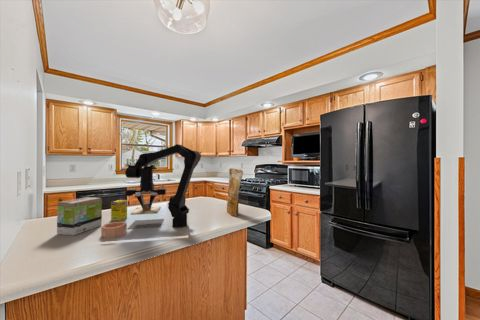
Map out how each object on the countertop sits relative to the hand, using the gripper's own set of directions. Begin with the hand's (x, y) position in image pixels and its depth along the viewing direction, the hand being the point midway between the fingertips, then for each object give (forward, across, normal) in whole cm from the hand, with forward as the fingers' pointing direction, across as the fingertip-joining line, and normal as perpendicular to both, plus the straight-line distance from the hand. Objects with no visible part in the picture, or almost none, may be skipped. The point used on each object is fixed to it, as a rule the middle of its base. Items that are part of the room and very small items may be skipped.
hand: (146, 208), depth 110 cm
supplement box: (+9, +17, -13) cm, 23 cm away
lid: (+1, 0, 0) cm, 1 cm away
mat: (+9, 0, 0) cm, 9 cm away
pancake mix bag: (+9, -48, -15) cm, 51 cm away
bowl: (+9, +11, +13) cm, 19 cm away
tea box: (+9, +30, 0) cm, 31 cm away
